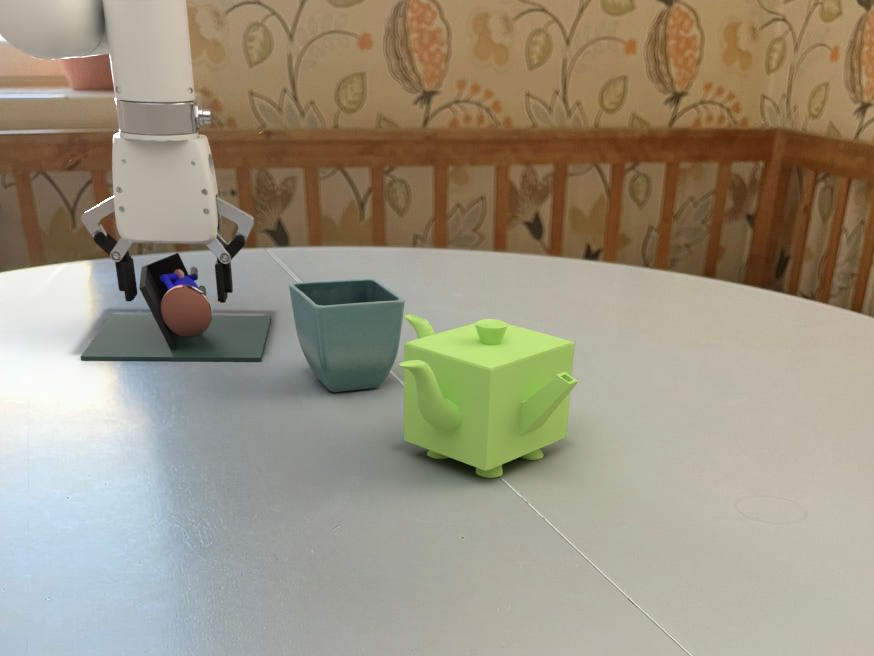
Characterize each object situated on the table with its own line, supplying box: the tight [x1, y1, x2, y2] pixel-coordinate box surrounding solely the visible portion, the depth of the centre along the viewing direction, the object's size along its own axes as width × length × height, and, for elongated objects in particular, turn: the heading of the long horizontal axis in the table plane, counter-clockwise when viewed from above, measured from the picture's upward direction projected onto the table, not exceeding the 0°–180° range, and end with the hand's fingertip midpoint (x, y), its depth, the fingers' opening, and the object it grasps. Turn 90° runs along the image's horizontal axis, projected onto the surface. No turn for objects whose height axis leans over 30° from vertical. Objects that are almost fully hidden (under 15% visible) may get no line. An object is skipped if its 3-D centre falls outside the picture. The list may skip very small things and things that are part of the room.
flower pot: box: [288, 278, 406, 393], centre depth 101 cm, size 9×9×9 cm
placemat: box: [80, 313, 272, 362], centre depth 114 cm, size 18×16×1 cm
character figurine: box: [138, 252, 213, 350], centre depth 112 cm, size 8×7×15 cm
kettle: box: [398, 314, 579, 479], centre depth 86 cm, size 15×14×11 cm
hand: (177, 298), depth 112 cm, fingers open, 9 cm apart
